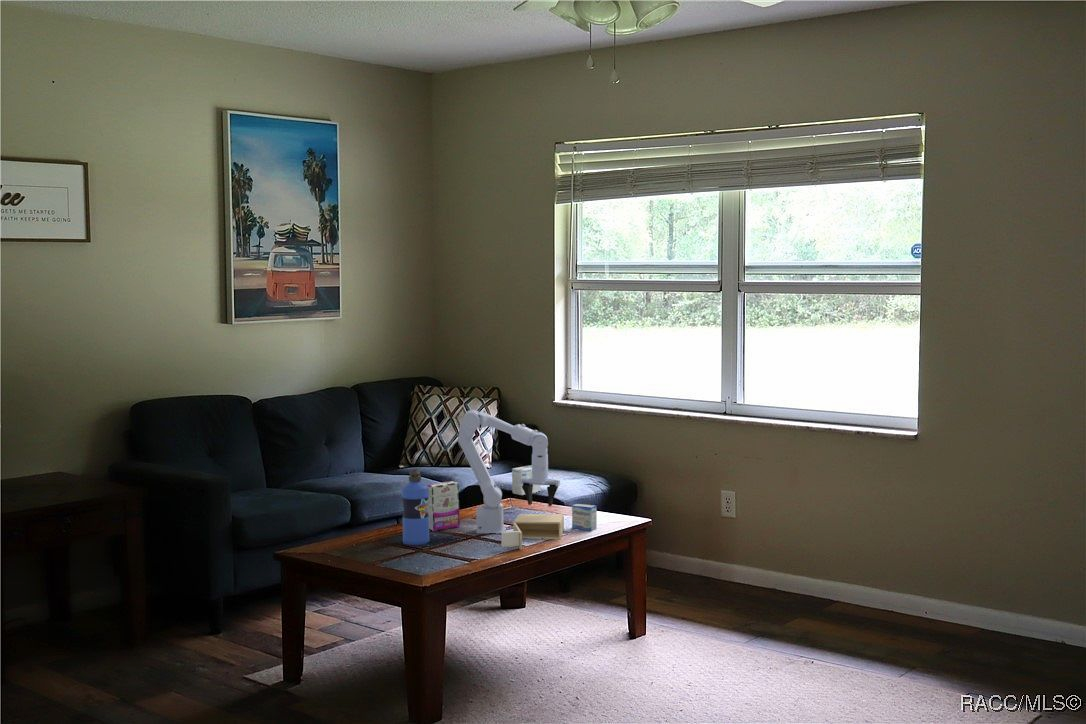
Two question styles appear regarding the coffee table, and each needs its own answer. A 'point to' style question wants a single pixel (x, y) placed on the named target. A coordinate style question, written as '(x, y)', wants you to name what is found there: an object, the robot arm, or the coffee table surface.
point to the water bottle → (415, 510)
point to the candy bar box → (443, 506)
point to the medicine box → (584, 517)
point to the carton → (541, 525)
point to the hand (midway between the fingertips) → (540, 505)
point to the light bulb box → (517, 475)
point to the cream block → (512, 537)
